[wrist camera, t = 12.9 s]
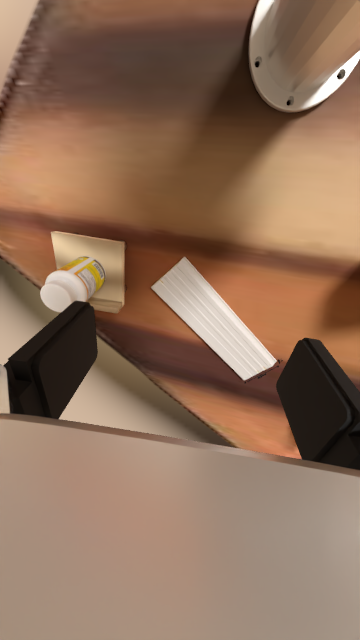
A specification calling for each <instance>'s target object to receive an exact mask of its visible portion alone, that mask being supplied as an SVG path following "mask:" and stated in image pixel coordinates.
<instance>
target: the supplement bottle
mask: <svg viewBox="0 0 360 640" xmlns="http://www.w3.org/2000/svg"><path fill="white" fill-rule="evenodd" d="M105 280H106V272H105V269H104V267H103V266H102V264H101V263H100V262H99V261H97V260H96V259H94V258H92V257H89V256H82V257H79V258H77V259H75V260H74V261H72V262H70V263H68V264H67V265H65V266H63V267H61V268H60V269H58V270H56V271H54V272H52V273H51V274H50V275H49V276H48V277H47V279H46V282H45V285H44V286H43V287H42V289H41V292H40V295H41V299H42V301H43V302H44V304H45V305H46V306H47V307H48V308H50V309H51V310H53V311H56V312H62V311H64V310H65V309H66V308H67V307H68V306H69V305H70V304H72V303H73V302H74V301H76V300H77V301H83V302H86V301H87V300H88V299H89V298H90V297H91V296H92V295H93V294H94V293H95V292H96V291H97V290H98V289H99V288H100V287H101V286H102V285H103V284H104V282H105Z"/></svg>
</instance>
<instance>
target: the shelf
mask: <svg viewBox="0 0 360 640" xmlns="http://www.w3.org/2000/svg"><path fill="white" fill-rule="evenodd" d="M51 235H52V241H53V248H54V254H55V260H56V266H57V270H58V269H60V268H61V267H63V266H65V265H67V264H68V263H70V262H72V261H74V260H75V259H77V258H79V257H82V256H89V257H92V258H94V259H96V260H97V261H99V262H100V263H101V264H102V266H103V267H104V269H105V272H106V280H105V282H104V284H103V285H102V286H101V287H100V288H99V289H98V290H97V291H96V292H95V293H94V294H93V295H92V296H91V297H90V298H89V299H88V300H87V301H86V302H89V303H90V305H91V306H93V307H94V310H99V311H105V312H111V313H117V314H118V312H119V311H120V310H121V308H122V307H123V305H124V293H125V291H126V290H127V287H126V285H125V284H124V251H125V250H126V249H127V244H126V242H125V241H123V240H119V241H114V240H108V239H102V238H95V237H89V236H83V235H80V234H78V233H73V234H70V233H64V232H58V231H54V232H51Z"/></svg>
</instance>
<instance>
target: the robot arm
mask: <svg viewBox="0 0 360 640" xmlns="http://www.w3.org/2000/svg"><path fill="white" fill-rule="evenodd" d="M248 55H249V68H250V72H251V77H252V80H253V83H254V85H255V88H256V90H257V92H258V93H259V95H260V96H261V98H262V99H263V100H264V101H265V102H266V103H267V104H268V105H269V106H271V107H273V108H275V109H276V110H278V111H283V112H287V113H290V112H300V111H304V110H308V109H310V108H312V107H314V106H316V105H318V104H319V103H321V102H322V101H324V100H325V99H327V98H328V97H329V96H330V95H331V94H332V93H334V92H335V91H336V90H337V89H338V88H339V87H340V86H341V85H342V84H343V83H344V82H345V80H346V79H347V78H348V76H349V75H350V74H351V72H352V71H353V69H354V68H355V66H356V65H357V63H358V61H359V59H360V0H259V1H258V4H257V6H256V10H255V13H254V17H253V20H252V25H251V30H250V35H249V49H248ZM256 63H258V64H259V67H258V68H257V67H255V64H256ZM337 75H339V80H338V79H337ZM287 101H289V102H290V105H289V106H287V104H286V103H287ZM97 352H98V351H97V339H96V326H95V314H94V307H93V306H91V305H90V303H89V302H83V301H77V300H76V301H74V302H73V303H72V304H70V305H69V306H68V307H67V308H66V309H65V310H64V311H62V312H61V313H60V314H59V315H58V316H57V317H56V318H54V319H53V320H52V321H51V322H50V323H49V324H48V325H46V326H45V327H44V328H43V329H42V330H41V331H39V332H38V333H37V334H36V335H35V336H34V337H33V338H31V339H30V340H29V341H28V342H27V343H26V344H25V345H23V346H22V347H21V348H20V349H19V350H18V351H17V352H15V353H14V354H13V355H12V356H11V357H10V358H9V359H8V360H9V361H8V362H7V363H6V364H5V365H4V366H2V365H1V364H0V640H360V392H359V391H358V389H357V388H356V387H355V385H354V384H353V383H352V382H351V380H350V379H349V378H348V376H347V375H346V374H345V372H344V371H343V370H342V368H341V367H340V366H339V365H338V363H337V362H336V361H335V359H334V358H333V357H332V355H331V354H330V353H329V352H328V350H327V349H326V348H325V346H324V345H323V344H322V342H321V341H320V340H316V339H310V338H304V339H302V340H299V341H298V343H297V344H296V346H295V348H294V350H293V352H292V354H291V356H290V358H289V360H288V362H287V364H286V366H285V368H284V370H283V371H282V373H281V375H280V377H279V379H278V381H277V385H276V388H277V392H278V394H279V397H280V400H281V403H282V405H283V408H284V411H285V414H286V416H287V419H288V422H289V425H290V427H291V430H292V433H293V436H294V438H295V441H296V444H297V447H298V449H299V452H300V455H301V457H302V460H301V459H296V458H290V457H284V456H278V455H273V454H267V453H261V452H255V451H250V450H244V449H238V448H232V447H226V446H220V445H214V444H208V443H202V442H196V441H190V440H184V439H178V438H172V437H167V436H161V435H154V434H148V433H142V432H135V431H130V430H123V429H117V428H111V427H105V426H99V425H93V424H87V423H80V422H73V421H67V420H59V417H60V415H61V414H62V412H63V411H64V409H65V408H66V406H67V404H68V403H69V401H70V400H71V398H72V397H73V395H74V393H75V392H76V390H77V388H78V387H79V385H80V384H81V382H82V381H83V379H84V377H85V376H86V374H87V373H88V371H89V370H90V368H91V366H92V365H93V363H94V361H95V360H96V358H97Z"/></svg>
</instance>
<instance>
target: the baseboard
mask: <svg viewBox="0 0 360 640" xmlns="http://www.w3.org/2000/svg"><path fill="white" fill-rule="evenodd" d="M151 288H152V289H153V290H154V291H155V292H156V293H157V294H158V295H159V296H160V297H161V298H162V299H163V300H164V301H165V302H166V303H167V304H168V305H169V306H170V307H171V308H172V309H173V310H174V311H175V312H176V313H177V314H178V315H179V316H180V317H181V318H182V319H183V320H184V321H185V322H186V323H187V324H188V325H189V326H190V327H191V328H192V329H193V330H194V331H195V332H196V333H197V334H198V335H199V336H200V337H201V338H202V339H203V340H204V341H205V342H206V343H207V344H208V345H209V346H210V347H211V348H212V349H213V350H214V351H215V352H216V353H217V354H218V355H219V356H220V357H221V358H222V359H223V360H224V361H225V362H226V363H227V364H228V365H229V366H230V367H231V368H232V369H233V370H234V371H235V372H236V373H237V374H238V375H239V376H240V377H241V378H242V379H243V380H246V379H248V378H250V377H252V376H254V375H255V374H258V373H259V372H261V371H264V370H265V369H267V368H270V367H272V366H273V364H274V363H275V362H277V361H276V359H275V358H274V357H273V356H272V355H271V354H270V353H269V351H268V350H267V349H266V348H265V347H264V346H263V345H262V343H261V342H260V341H259V340H258V339H257V338H256V337H255V336H254V334H253V333H252V332H251V331H250V330H249V329H248V328H247V326H246V325H245V324H244V323H243V322H242V321H241V320H240V318H239V317H238V316H237V315H236V314H235V313H234V312H233V310H232V309H231V308H230V307H229V306H228V305H227V304H226V303H225V301H224V300H223V299H222V298H221V297H220V296H219V295H218V293H217V292H216V291H215V290H214V289H213V288H212V287H211V285H210V284H209V283H208V282H207V281H206V280H205V279H204V278H203V276H202V275H201V274H200V273H199V272H198V271H197V270H196V268H195V267H194V266H193V265H192V264H191V263H190V262H189V260H188V259H187V258H186V257H185V256H184V257H183V258H182V259H181V260H180V261H179V262H178V263H177V264H176V265H174V266H173V267H172V268H171V269H170V270H169V271H168V272H167V273H165V274H164V275H163V276H162V277H161V278H160V279H159V280H158V281H157V282H155V283H154V284H153V285H152V286H151ZM282 361H283V360H282ZM278 362H279V364H280V361H279V360H278ZM277 367H279V366H277ZM275 368H276V367H275ZM273 369H274V368H273ZM271 370H272V369H271ZM269 371H270V370H269ZM267 372H268V371H267ZM261 375H262V374H261ZM264 375H266V372H265V374H264V373H263V376H264ZM257 377H258V376H257ZM260 377H262V376H260V375H259V377H258V379H259V378H260ZM255 378H256V377H255ZM253 379H254V378H253ZM251 380H252V379H251ZM249 381H250V380H249ZM247 382H248V381H247ZM245 383H246V382H245Z"/></svg>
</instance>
